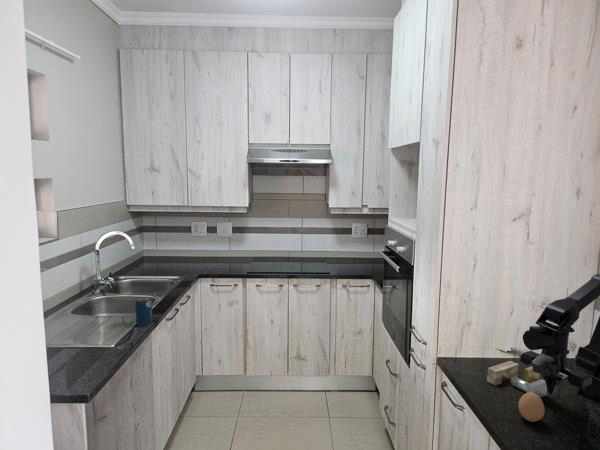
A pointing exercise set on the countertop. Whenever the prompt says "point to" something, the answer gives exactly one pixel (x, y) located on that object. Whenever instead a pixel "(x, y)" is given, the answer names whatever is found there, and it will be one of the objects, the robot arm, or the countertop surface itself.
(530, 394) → the egg
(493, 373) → the block
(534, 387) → the grey block with shaft
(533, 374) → the block
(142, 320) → the soda can
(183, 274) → the countertop surface
